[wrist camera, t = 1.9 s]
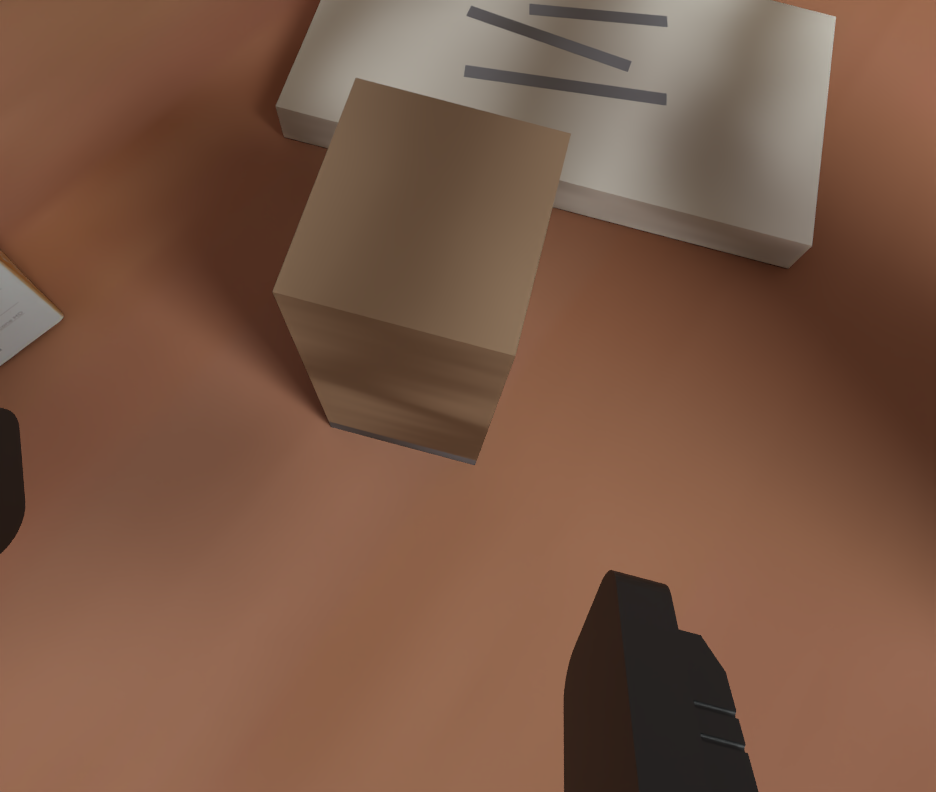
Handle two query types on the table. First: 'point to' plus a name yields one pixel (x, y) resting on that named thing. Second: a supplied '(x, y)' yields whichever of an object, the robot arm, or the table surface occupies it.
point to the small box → (21, 311)
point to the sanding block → (419, 265)
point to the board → (611, 100)
